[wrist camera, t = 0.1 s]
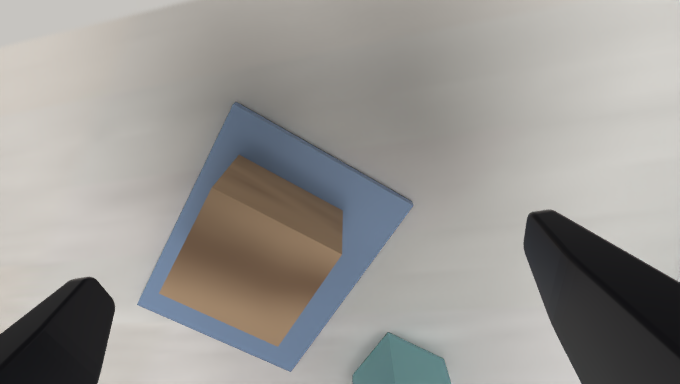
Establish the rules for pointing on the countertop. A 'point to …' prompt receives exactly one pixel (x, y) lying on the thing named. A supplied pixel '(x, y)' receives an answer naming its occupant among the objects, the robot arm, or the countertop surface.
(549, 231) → the robot arm
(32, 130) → the countertop surface
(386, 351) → the teal cube
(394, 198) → the blue flat board
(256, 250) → the walnut base block
